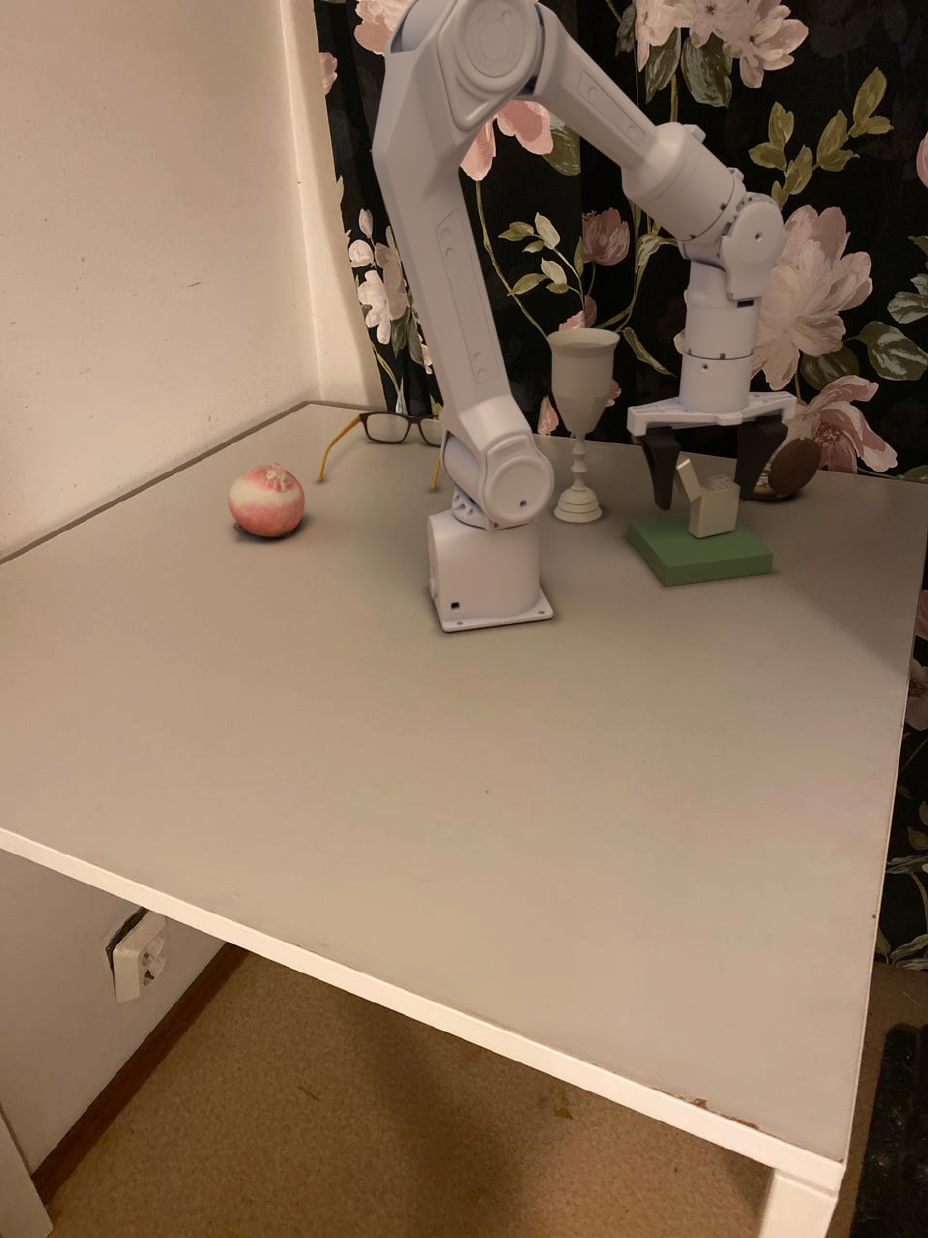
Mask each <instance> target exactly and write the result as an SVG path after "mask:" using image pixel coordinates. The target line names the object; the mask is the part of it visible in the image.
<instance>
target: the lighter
mask: <svg viewBox="0 0 928 1238" xmlns="http://www.w3.org/2000/svg"><path fill="white" fill-rule="evenodd" d="M673 482H674V484H675V487H676V489H677V491H678V494H679V496H680V497H681V499H683V500H685V501H687V502H688V503H689V504H690V505H691V506H690V512H691V514H690V524H689V532H690V533H692V534H693V535H694V536H696V537H698V538H701V537H705V536H710V535H714V534H718V533H723V532H727V531H732V530H735V525H736V519H737V516H738V510H739V501H740V498H739V494H740V486H739V485H737V484H736V483H734V481H732V480H731V477H730V476H728V475H727V476H726V475H725V474H718V475H711V476H707V477H705V485H702V486H701V485H700V483H699V480H698V477H697V475H696V472H695V470H694V467H693V464H692V461H691V460H690V458H688V457H686V456H685V455H683V454H681V453H679V456H678V460H677V464H676V468H675V473H674V479H673Z"/></svg>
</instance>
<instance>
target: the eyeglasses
mask: <svg viewBox="0 0 928 1238" xmlns="http://www.w3.org/2000/svg"><path fill="white" fill-rule="evenodd" d="M373 415H392V416H397V417H401V418H402V419H404V420H406V421H407V428H406V431H405V434H404V436H403V438H402V439H401V440H397V441H389V440H388V441H387V440H383V439H381V440H380V439H377V438H373V437H372V436H371V435H370V433H369V429H368V419H369V417H370V416H373ZM431 418H439V414H427V415H422V416H411V415H406V414H403V413H400V412H395V411H387V410H385V411H382V410H381V411H378V410H377V411H368V412H360V413H359V414H357V416H356V417H355V418H353V420H351V421H350V423H348V424H347V425H346V427H344V428H343V430H342V431H340V433H339V434H338V435H337V436H336V437H335V438H334V439H333V440H332V441H330V443H329V444H328V445H327V447H326V449H325V452H324V455H323V458H322V462H321V466H320V470H319V474H318V481H320V482H321V481H322V479H323V476H324V471H325V465H326V460H327V458H328V457H327V456H328V454H329V452H330V450H331V448H332V447H333V446H335V444H336V443H337V442H338V441H340V440H341V439H342V438H343V437H344V436H345V435H346V434H347V433H348V432H350V431H351V429H352V428H354V427H356V426H357V425H358V424H359V423H362V425H363V428H364V429H363V430H364V433H365V435H366V437H367V439H368V440H370V441H371V442H376V443H380V444H388V445H389V444H390V445H396V444H402V443H403V442H405V440H406V439H407V437H408V435H409V433H410V430H411V427H412V425H413V424H414V425H415V424H416V425H417V428H418V429H417V430H418V432H419V434H420V436H421V438H422V440H423V441H424V443H425V444H427V445H428V446H431V447H436V448H441V444H436V443H433V442H430V441H428V439H427V438H426V436H425V434H424V431H423V428H422V425H421V423H422V421H423V420H426V419H431ZM440 466H441V461H440V456H439V457H438V460H437V463H436V468H435V472H434V477H433V481H432V487H431V489H432V490H433V491H434V490H436V487H437V480H438V475H439V469H440Z"/></svg>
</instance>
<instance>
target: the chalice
mask: <svg viewBox="0 0 928 1238" xmlns="http://www.w3.org/2000/svg"><path fill="white" fill-rule="evenodd" d="M620 337H621V336H620V335H619V334H618V333H617V332H615V331H611V330H607V329H602V328H594V327H578V328H567V329H562V330H561V329H560V330H558V331H554V332H552V333H550V334H549V335H547V338H546V340H547V342H548V344H549V347H550V349H551V392H552V395H553V398H554V401H555V405H556V408H557V410H558V412H559V415H560V417H561V419H562V421H563V423H564V426H565V428H566V430H567V431H568V432H571V433H572V434H574V436H575V443H574V447H573V449H571V453H572V454H573V456H574V459H575V460H574V464H573V465H572V466H571V467H570V471H572V472H573V476H574V481H573V484H572V485H571V486H570V487H568V488H566V489H565V490H564V491H563V492H562V493H561V495H560V498H559V500H558V501H557V505H556V507H555V508H554V510H553V515H554V516H555V517H556V518H558V519H559V520H561V521H563V522H569V523H576V524H579V523H581V524H582V523H589V522H594V521H596V520H598V519H599V518H601V516H602V515H603V510H602V508H601V507H600V506H599V505H600V502H599V501H598V499H597V495H596V494H595V492H594V491H593V490H592V489H591V488H589V487H587V486H586V485H585V482H584V477H585V473H586V472H587V471H588V470H589V468H588V467H587V466H586V464H585V457H586V455H587V454H588V452H589V451H588V449H587V448H586V442H585V439H586V436H587V434H589V433H591V432H593V431H594V430H595V429H596V427H597V425H598V422H599V421H600V419H601V417H602V415H603V413H604V411H605V410H606V407H607V404H608V401H609V399H610V396H611V393H612V390H613V389H612V388H613V375H614V374H613V371H614V353H615V352H614V351H615V349H616V347H617V345H618V343H619V342H620Z"/></svg>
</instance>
